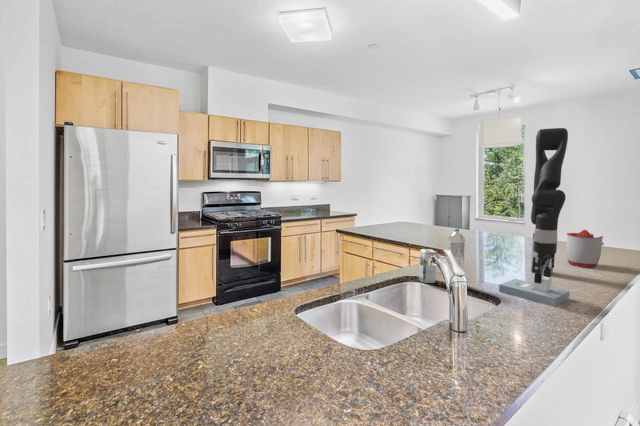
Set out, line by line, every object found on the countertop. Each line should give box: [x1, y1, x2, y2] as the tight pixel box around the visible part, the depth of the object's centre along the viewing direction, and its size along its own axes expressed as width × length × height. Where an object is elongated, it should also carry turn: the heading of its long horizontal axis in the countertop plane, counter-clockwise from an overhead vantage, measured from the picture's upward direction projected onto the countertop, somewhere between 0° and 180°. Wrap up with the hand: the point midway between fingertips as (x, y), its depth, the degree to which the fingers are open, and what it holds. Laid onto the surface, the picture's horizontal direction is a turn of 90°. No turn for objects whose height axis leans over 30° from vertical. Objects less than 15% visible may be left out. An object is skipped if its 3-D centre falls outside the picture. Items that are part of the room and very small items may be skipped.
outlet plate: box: [498, 278, 570, 307], centre depth 133 cm, size 14×20×3 cm
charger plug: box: [532, 275, 553, 293], centre depth 130 cm, size 5×5×8 cm
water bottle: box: [447, 228, 466, 271], centre depth 145 cm, size 7×7×25 cm
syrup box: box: [418, 248, 438, 284], centre depth 150 cm, size 6×6×14 cm
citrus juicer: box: [565, 229, 604, 268], centre depth 180 cm, size 16×17×20 cm
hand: (542, 281), depth 130 cm, fingers open, 8 cm apart
